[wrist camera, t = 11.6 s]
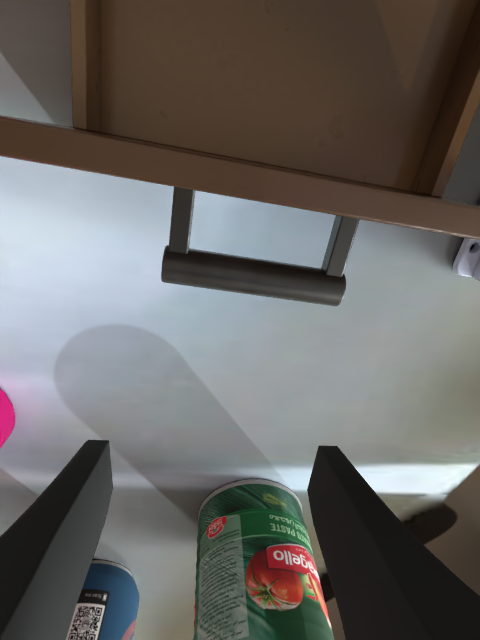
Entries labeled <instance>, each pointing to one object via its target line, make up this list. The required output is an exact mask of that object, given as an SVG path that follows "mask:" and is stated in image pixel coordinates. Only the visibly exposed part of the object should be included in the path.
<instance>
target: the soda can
mask: <svg viewBox="0 0 480 640" xmlns="http://www.w3.org/2000/svg"><path fill="white" fill-rule="evenodd" d="M138 605H139V593H138V589H137V586H136V584H135V581H134V578H133V575H132V574H131V572H130V571H129V570H128V569H126V568H125V567H123V566H122V565H120V564H117V563H114V562H110V561H104V560H92V561H91V564H90V567H89V570H88V573H87V576H86V579H85V581H84V584H83V587H82V590H81V593H80V596H79V599H78V602H77V605H76V607H75V610H74V614H73V617H72V620H71V623H70V626H69V630H68V633H67V637H66V640H133V635H134V629H135V623H136V617H137V611H138Z"/></svg>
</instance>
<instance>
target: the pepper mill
mask: <svg viewBox="0 0 480 640" xmlns="http://www.w3.org/2000/svg"><path fill="white" fill-rule="evenodd" d="M14 425H15V413H14V409H13V405H12V403H11V402H10V400H9V398H8V397H7V395H6V394H5V393H4V392H3V391H2V390H1V389H0V448H1V447H2V445H3V444H4V443H5V441H6V440H7V438H8V437H9V436H10V434H11V433H12V431H13V428H14Z"/></svg>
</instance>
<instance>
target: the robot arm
mask: <svg viewBox="0 0 480 640" xmlns="http://www.w3.org/2000/svg"><path fill="white" fill-rule="evenodd" d="M479 206H480V205H479ZM474 243H475V246H474V248H473V249H472V250H471V251H470V247H471V245H472V244H474ZM453 271H454V272H455V273H457V274H459V275H461V276H468V277H473V278H475V279H477V280H479V281H480V240H476V239H470V238H464V241H463V243H462V245H461V248H460V250H459V252H458V254H457V257H456V259H455V261H454V263H453ZM112 489H113V484H112V471H111V459H110V447H109V441H107V440H88V441H86V442H85V443H84V444H83V446H82V447H81V448H80V449H79V451H78V452H77V453H76V454H75V456H74V457H73V458H72V459H71V461H70V462H69V463H68V464H67V465H66V467H65V468H64V469H63V470H62V471H61V472H60V474H59V475H58V476H57V477H56V478H55V479H54V481H53V482H52V483H51V484H50V485H49V486H48V487H47V488H46V489H45V491H44V492H43V493H42V494H41V495H40V496H39V497H38V498H37V499H36V501H35V502H34V503H33V504H32V505H31V506H30V507H29V508H28V509H27V510H26V511H25V512H24V513H23V514H22V515H21V516H20V517H19V518H18V519H17V520H16V521H15V522H14V523H13V524H12V526H11V527H10V528H9V529H8V530H7V531H6V532H5V533H4V534H3V535H2V536H1V537H0V640H66V637H67V633H68V630H69V626H70V623H71V620H72V617H73V614H74V610H75V607H76V605H77V602H78V599H79V596H80V593H81V590H82V587H83V584H84V581H85V579H86V576H87V573H88V570H89V567H90V564H91V561H92V558H93V556H94V553H95V550H96V547H97V544H98V541H99V538H100V535H101V532H102V529H103V526H104V523H105V519H106V515H107V511H108V507H109V502H110V498H111V494H112ZM307 491H308V496H309V502H310V508H311V513H312V519H313V524H314V527H315V531H316V534H317V538H318V541H319V544H320V548H321V551H322V555H323V558H324V561H325V565H326V568H327V571H328V575H329V578H330V581H331V585H332V588H333V591H334V595H335V598H336V601H337V605H338V609H339V612H340V616H341V620H342V624H343V629H344V634H345V638H346V640H480V596H479V595H478V594H476V593H475V592H474V591H473V590H472V589H470V588H469V587H468V586H467V585H466V584H465V583H464V582H463V581H461V580H460V579H459V578H458V577H457V576H456V575H455V574H454V573H452V572H451V571H450V570H449V569H448V568H447V567H446V566H445V565H444V564H443V563H442V562H441V561H440V560H439V559H438V558H436V557H435V556H434V555H433V554H432V553H431V552H430V551H429V550H428V549H427V548H426V547H425V546H424V545H423V544H422V543H421V542H420V541H419V540H418V539H417V538H416V537H415V536H414V535H413V534H412V533H411V532H410V531H409V530H408V529H407V527H406V526H405V525H404V524H403V523H402V522H401V521H400V520H399V519H398V518H397V517H396V516H395V515H394V513H393V512H392V511H391V510H390V509H389V508H388V507H387V505H386V504H385V503H384V502H383V501H382V500H381V499H380V497H379V496H378V495H377V494H376V493H375V492H374V490H373V489H372V488H371V487H370V486H369V485H368V483H367V482H366V481H365V480H364V478H363V477H362V476H361V475H360V474H359V472H358V471H357V470H356V469H355V467H354V466H353V465H352V464H351V462H350V461H349V460H348V459H347V458H346V456H345V455H344V454H343V453H342V451H341V450H340V449H339V448H338V447H337V446H319V447H318V451H317V455H316V459H315V462H314V466H313V470H312V474H311V478H310V482H309V486H308V489H307Z"/></svg>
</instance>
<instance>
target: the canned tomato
mask: <svg viewBox="0 0 480 640" xmlns="http://www.w3.org/2000/svg"><path fill="white" fill-rule="evenodd" d="M196 569H197V572H196V590H195V620H194V639H193V640H334V637H333V634H332V630H331V624H330V621H329V618H328V614H327V608H326V605H325V602H324V597H323V591H322V589H321V586H320V580H319V576H318V573H317V569H316V564H315V561H314V558H313V551H312V549H311V545H310V539H309V537H308V533H307V527H306V524H305V521H304V517H303V512H302V506H301V503H300V501H299V499H298V497H297V496H296V495H295V494H294V493H293V491H291V490H290V489H288V488H287V487H286V486H283V485H281V484H279V483H276V482H273V481H269V480H261V479H248V480H241V481H236V482H233V483H230V484H227V485H224V486H222V487H220V488H219V489H217V490H215V491H214V492H213V493H211V494H210V495H209V496H208V497H207V498H206V499H205V500H204V501H203V503H202V505H201V507H200V509H199V513H198V538H197V563H196Z"/></svg>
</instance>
